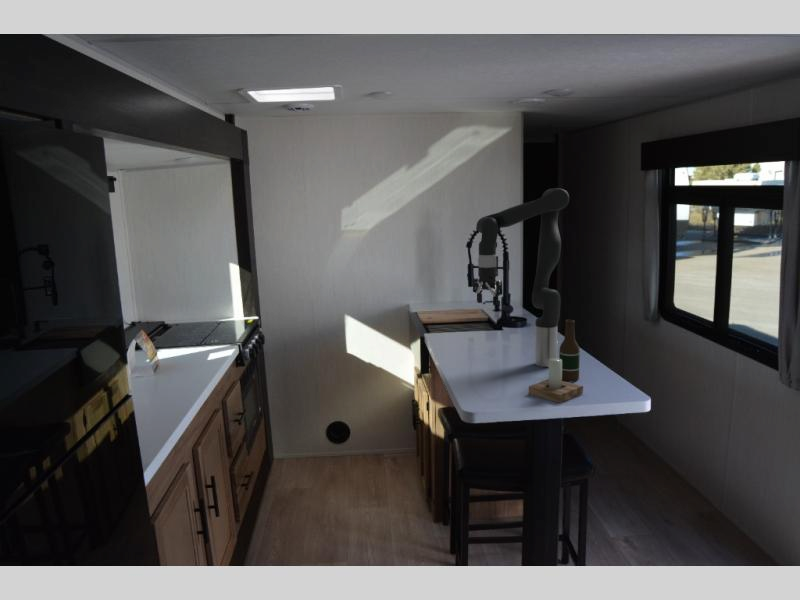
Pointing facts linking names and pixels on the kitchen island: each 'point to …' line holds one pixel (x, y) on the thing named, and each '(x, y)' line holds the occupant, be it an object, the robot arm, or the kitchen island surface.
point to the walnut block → (556, 391)
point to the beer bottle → (570, 354)
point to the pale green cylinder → (555, 373)
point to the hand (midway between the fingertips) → (487, 303)
